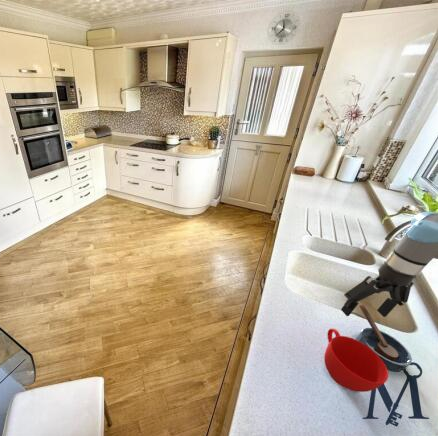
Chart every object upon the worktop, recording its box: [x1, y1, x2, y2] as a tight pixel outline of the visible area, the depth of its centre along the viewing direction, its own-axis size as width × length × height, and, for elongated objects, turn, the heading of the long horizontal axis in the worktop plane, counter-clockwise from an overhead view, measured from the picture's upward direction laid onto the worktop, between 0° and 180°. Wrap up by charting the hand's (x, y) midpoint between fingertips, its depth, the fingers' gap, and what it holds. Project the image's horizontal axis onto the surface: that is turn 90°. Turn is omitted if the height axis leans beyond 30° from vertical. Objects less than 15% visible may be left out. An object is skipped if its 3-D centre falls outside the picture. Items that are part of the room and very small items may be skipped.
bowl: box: [355, 327, 413, 373], centre depth 75 cm, size 12×12×4 cm
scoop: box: [358, 304, 399, 361], centre depth 78 cm, size 16×5×8 cm, turn 2°
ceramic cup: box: [323, 328, 389, 393], centre depth 69 cm, size 13×17×10 cm
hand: (362, 313), depth 82 cm, fingers open, 13 cm apart
